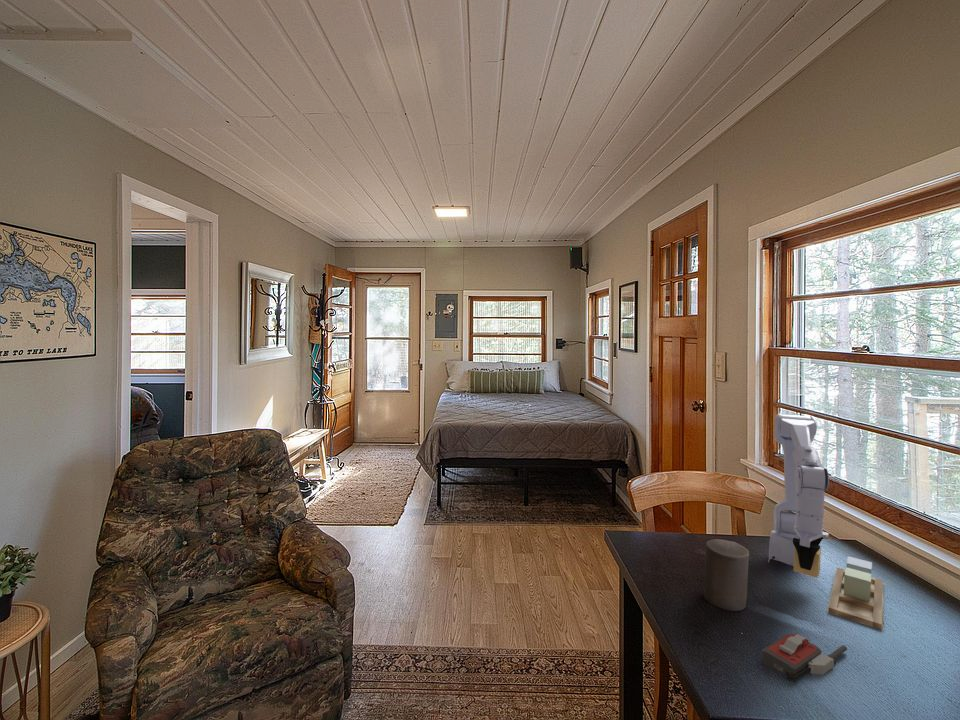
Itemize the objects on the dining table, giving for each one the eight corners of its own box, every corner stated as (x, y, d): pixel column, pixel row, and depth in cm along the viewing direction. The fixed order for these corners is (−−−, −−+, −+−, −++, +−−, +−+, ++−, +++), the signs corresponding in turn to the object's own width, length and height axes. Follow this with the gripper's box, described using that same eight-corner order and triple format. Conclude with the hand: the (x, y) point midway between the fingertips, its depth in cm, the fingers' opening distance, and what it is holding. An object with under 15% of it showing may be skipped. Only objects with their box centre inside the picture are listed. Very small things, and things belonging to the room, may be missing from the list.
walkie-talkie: (803, 693, 86) (851, 656, 96) (804, 671, 86) (852, 636, 96) (755, 664, 94) (804, 632, 104) (756, 643, 94) (805, 614, 104)
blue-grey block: (845, 585, 121) (846, 562, 121) (846, 577, 125) (847, 556, 124) (870, 592, 118) (871, 569, 117) (870, 584, 121) (872, 562, 121)
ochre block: (793, 571, 118) (794, 548, 117) (796, 564, 121) (797, 541, 121) (817, 578, 114) (818, 554, 114) (819, 570, 118) (820, 547, 118)
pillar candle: (698, 600, 116) (700, 542, 115) (710, 584, 123) (712, 530, 122) (740, 616, 109) (744, 556, 108) (751, 599, 116) (754, 542, 115)
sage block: (843, 597, 115) (844, 574, 115) (844, 589, 119) (845, 567, 118) (869, 605, 112) (870, 581, 111) (870, 597, 115) (871, 573, 115)
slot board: (826, 617, 109) (827, 607, 109) (835, 576, 128) (836, 567, 128) (882, 636, 102) (883, 624, 102) (883, 590, 121) (883, 580, 121)
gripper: (826, 525, 109) (823, 581, 110) (831, 509, 120) (829, 559, 120) (790, 517, 114) (788, 571, 114) (799, 502, 124) (796, 551, 125)
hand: (806, 564), depth 118 cm, fingers closed on ochre block, 5 cm apart
